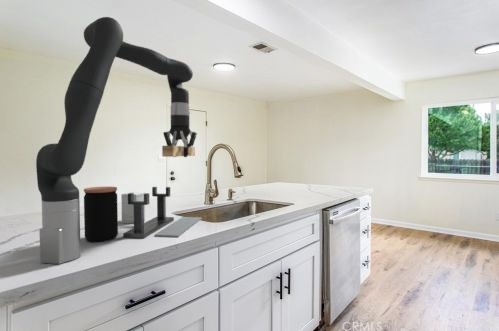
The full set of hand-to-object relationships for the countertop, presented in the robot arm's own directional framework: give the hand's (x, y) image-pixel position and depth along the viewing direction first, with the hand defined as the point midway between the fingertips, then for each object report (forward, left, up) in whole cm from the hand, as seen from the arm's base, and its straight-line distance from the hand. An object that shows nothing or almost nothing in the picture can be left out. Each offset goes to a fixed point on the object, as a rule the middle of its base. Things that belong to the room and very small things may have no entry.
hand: (180, 156), depth 122 cm
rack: (-4, +11, -29) cm, 31 cm away
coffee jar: (-20, +22, -29) cm, 42 cm away
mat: (0, 0, -29) cm, 29 cm away
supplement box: (+6, +24, -29) cm, 38 cm away
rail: (0, 0, 0) cm, 0 cm away
